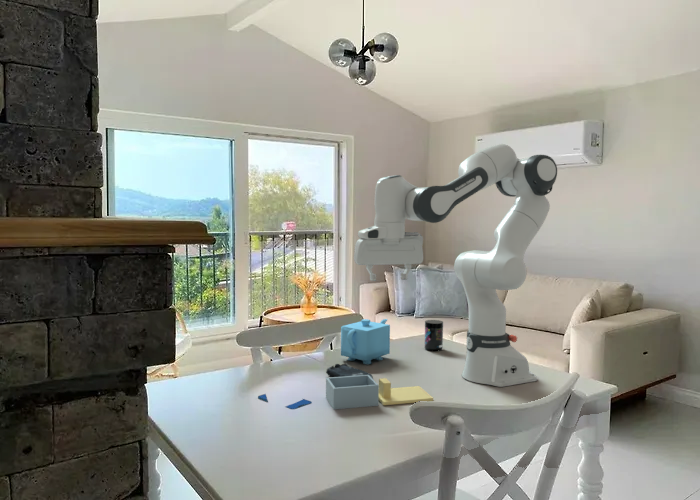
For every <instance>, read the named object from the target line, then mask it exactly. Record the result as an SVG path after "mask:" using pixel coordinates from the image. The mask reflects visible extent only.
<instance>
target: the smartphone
mask: <svg viewBox="0 0 700 500" xmlns="http://www.w3.org/2000/svg"><path fill="white" fill-rule="evenodd" d="M257 399H258V400H261V401H264V402H266V403H269V400H268V397H267V394H266V393H264V394H260V395H258V396H257ZM312 402H313V401H311V400H308V399H305V398H302V399H301V400H299V401H296V402H295V403H291V404H288V405H286V406H285V408H287V409H290V410H296V409H298V408H301V407H305V406H308V405H311V404H312Z"/></svg>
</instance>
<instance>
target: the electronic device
mask: <svg viewBox="0 0 700 500" xmlns="http://www.w3.org/2000/svg"><path fill="white" fill-rule="evenodd" d="M325 373H326V374H327V376H329V377H330V378H331V377H345V376H359V375H369V376H370V377H371V378H372V379H373V380H374V376H373V375H372V374H371V373H369V372H367V371H364V370H362V369H359V368H355V367H353V366H349V365H348V363H342V364H340V363H336V364H335V365H332V366H329V367H327V368H326V371H325Z"/></svg>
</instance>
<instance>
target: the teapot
mask: <svg viewBox="0 0 700 500" xmlns="http://www.w3.org/2000/svg"><path fill="white" fill-rule="evenodd" d="M388 321H389V320H388V318H383V319H381V321H380V322H375V321H371V319H369V318H364V319H361V321H357V322H356V321H355V322H353V323H349V324H345V325H342V326H341V327H340V356H343V357H345V358H347V361H349V362H352V361H356V360H359V361H362V364H363V365H371V364H372V360H375V361H383V360H384V358H383V356H384V357H385V356H387V355H389V354H390V352H391V351H390V349H391V348H390V347H391V325H390V324H387V323H386V322H388Z"/></svg>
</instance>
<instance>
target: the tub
mask: <svg viewBox="0 0 700 500" xmlns="http://www.w3.org/2000/svg"><path fill="white" fill-rule="evenodd" d="M325 398H326V400H327V401H328V403H329V405H330V407H331V408H332V410H334V411H335V410H344V409H356V408H367V407H377V406H379V383H378V382H376V380H374V378H373V379H372V378H371V377H370V376H369V375H359V376H345V377H331V376H330V377H325Z"/></svg>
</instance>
